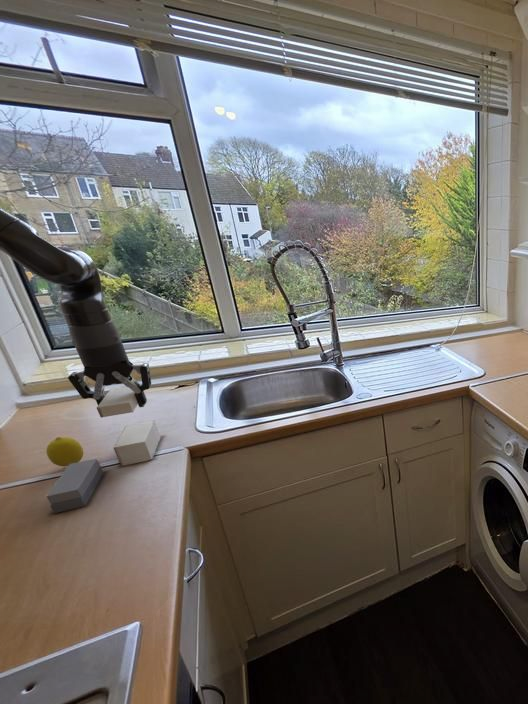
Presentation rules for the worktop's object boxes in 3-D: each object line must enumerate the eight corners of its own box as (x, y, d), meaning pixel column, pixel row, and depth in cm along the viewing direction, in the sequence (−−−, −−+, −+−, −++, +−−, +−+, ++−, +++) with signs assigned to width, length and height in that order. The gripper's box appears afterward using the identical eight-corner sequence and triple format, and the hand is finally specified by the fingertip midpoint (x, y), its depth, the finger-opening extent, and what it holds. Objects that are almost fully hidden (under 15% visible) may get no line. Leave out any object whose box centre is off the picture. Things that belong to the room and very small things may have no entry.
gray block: (54, 513, 81) (45, 497, 80) (76, 478, 92) (69, 463, 90) (85, 506, 84) (77, 490, 82) (103, 472, 94) (96, 458, 92)
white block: (121, 466, 96) (113, 447, 94) (133, 442, 106) (126, 425, 104) (151, 459, 99) (144, 441, 97) (160, 437, 108) (154, 420, 106)
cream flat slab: (100, 417, 91) (96, 407, 90) (115, 397, 101) (111, 387, 100) (133, 412, 94) (129, 402, 93) (144, 392, 103) (140, 383, 102)
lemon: (82, 457, 99) (68, 429, 96) (93, 463, 97) (79, 434, 94) (51, 469, 95) (35, 439, 91) (61, 476, 92) (46, 446, 89)
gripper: (143, 333, 97) (165, 396, 104) (60, 341, 91) (90, 408, 97) (135, 342, 91) (160, 408, 98) (46, 351, 85) (79, 422, 91)
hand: (125, 408), depth 98 cm, fingers closed on cream flat slab, 5 cm apart
